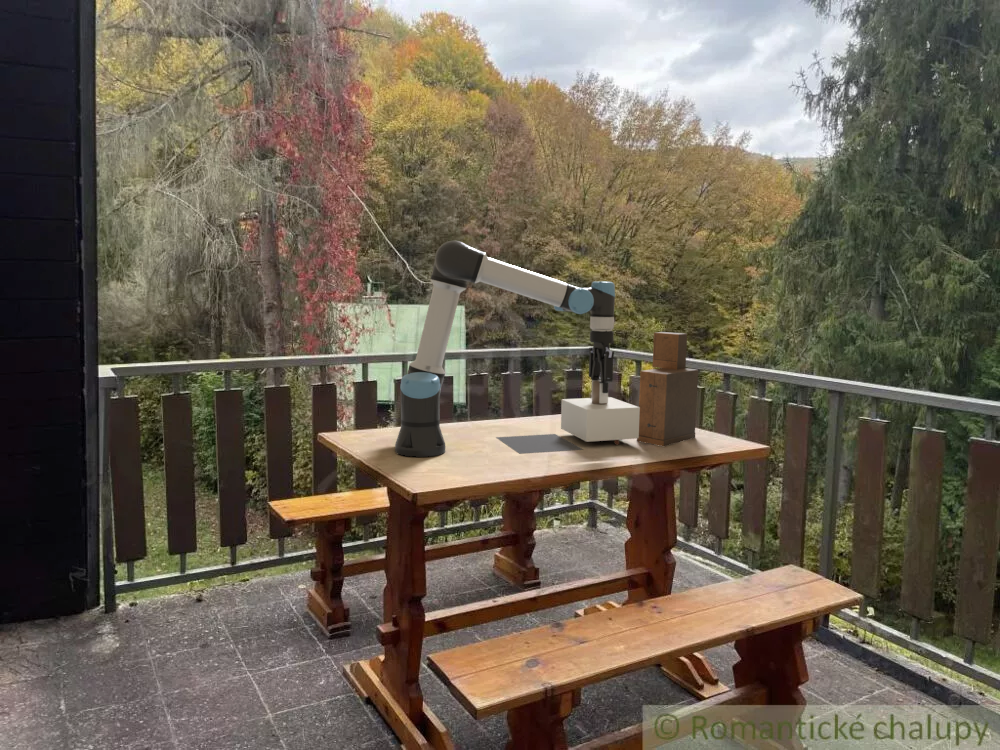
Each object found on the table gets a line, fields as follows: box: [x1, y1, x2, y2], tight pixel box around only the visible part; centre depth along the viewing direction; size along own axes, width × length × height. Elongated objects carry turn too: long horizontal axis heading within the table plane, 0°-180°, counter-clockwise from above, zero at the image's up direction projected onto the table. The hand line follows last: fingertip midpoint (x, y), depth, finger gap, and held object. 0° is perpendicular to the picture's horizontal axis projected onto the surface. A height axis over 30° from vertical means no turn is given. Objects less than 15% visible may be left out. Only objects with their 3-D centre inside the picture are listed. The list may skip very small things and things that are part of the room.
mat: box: [495, 433, 584, 455], centre depth 233 cm, size 21×23×1 cm
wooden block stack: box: [636, 331, 699, 447], centre depth 243 cm, size 19×14×35 cm
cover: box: [560, 380, 640, 442], centre depth 238 cm, size 18×20×17 cm
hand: (599, 401), depth 238 cm, fingers closed on cover, 5 cm apart
